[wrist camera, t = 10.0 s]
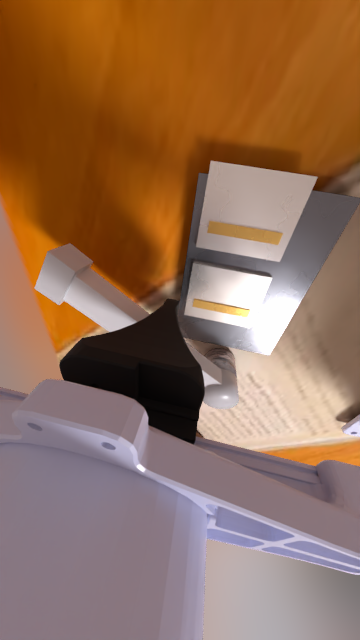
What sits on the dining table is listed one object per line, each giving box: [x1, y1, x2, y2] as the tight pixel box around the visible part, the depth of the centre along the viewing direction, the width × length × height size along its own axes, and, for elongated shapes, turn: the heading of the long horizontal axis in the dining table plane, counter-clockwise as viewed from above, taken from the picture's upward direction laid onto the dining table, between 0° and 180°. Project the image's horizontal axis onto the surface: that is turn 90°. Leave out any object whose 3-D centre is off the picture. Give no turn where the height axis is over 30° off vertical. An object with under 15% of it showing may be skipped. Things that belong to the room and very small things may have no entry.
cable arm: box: [34, 243, 239, 409], centre depth 13 cm, size 16×3×2 cm, turn 49°
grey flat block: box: [178, 161, 360, 378], centre depth 13 cm, size 8×15×2 cm, turn 173°
